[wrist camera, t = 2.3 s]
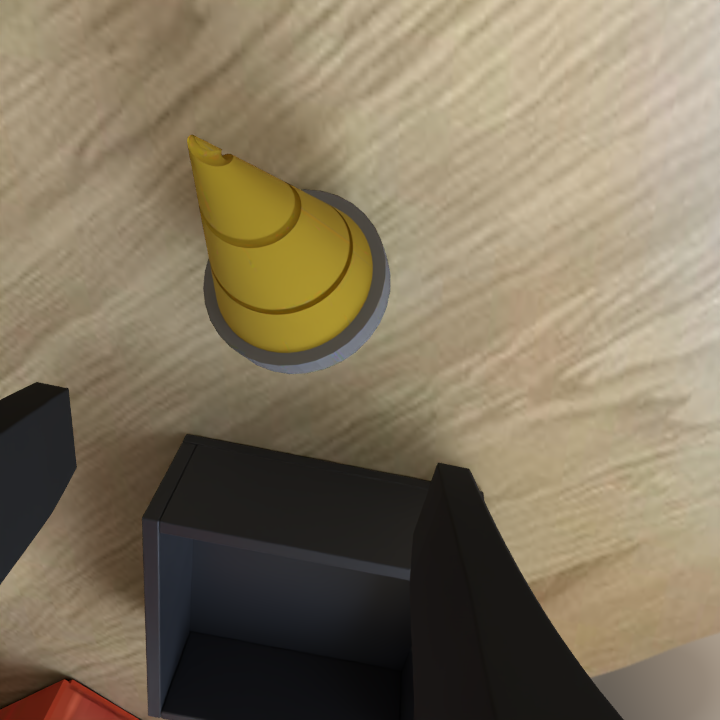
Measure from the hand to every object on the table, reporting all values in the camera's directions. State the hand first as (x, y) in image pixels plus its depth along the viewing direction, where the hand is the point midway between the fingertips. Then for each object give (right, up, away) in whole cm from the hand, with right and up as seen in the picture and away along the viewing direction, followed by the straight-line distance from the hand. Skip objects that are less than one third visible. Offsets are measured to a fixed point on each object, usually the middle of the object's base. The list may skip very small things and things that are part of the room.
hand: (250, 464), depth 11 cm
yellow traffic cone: (0, +6, +7) cm, 10 cm away
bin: (0, -8, +16) cm, 17 cm away
